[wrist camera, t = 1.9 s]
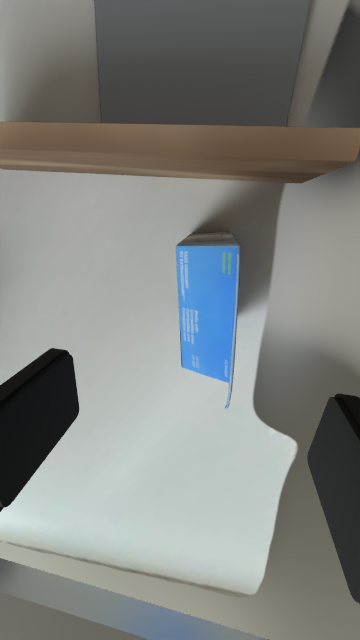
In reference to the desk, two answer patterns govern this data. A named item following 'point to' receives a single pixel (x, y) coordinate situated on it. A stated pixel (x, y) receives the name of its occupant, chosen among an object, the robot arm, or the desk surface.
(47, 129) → the walnut screen
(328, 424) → the robot arm
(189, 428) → the desk surface
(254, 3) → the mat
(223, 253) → the label tape box
